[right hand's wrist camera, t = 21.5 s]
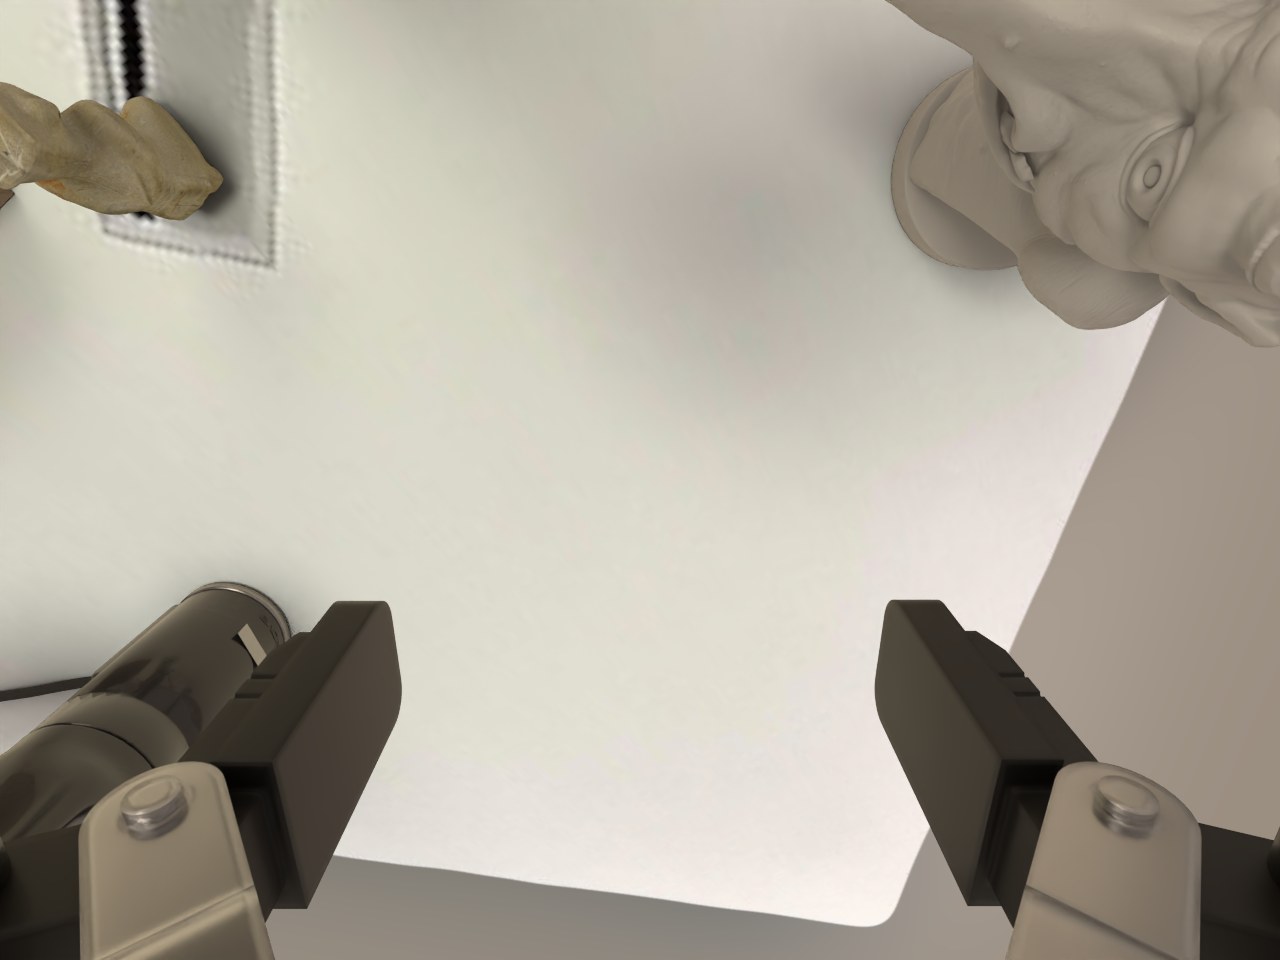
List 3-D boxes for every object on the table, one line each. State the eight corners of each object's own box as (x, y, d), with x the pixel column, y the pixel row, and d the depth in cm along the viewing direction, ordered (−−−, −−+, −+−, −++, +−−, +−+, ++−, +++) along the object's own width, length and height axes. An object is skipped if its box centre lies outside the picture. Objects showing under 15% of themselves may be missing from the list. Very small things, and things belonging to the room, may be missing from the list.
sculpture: (166, 84, 45) (-46, 27, 31) (249, 181, 48) (86, 169, 33) (107, 143, 47) (-121, 113, 33) (191, 235, 49) (10, 245, 35)
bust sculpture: (841, -109, 42) (1562, -1252, 9) (1148, 106, 46) (2409, -154, 13) (706, 153, 47) (859, 17, 14) (993, 325, 51) (1627, 530, 18)
